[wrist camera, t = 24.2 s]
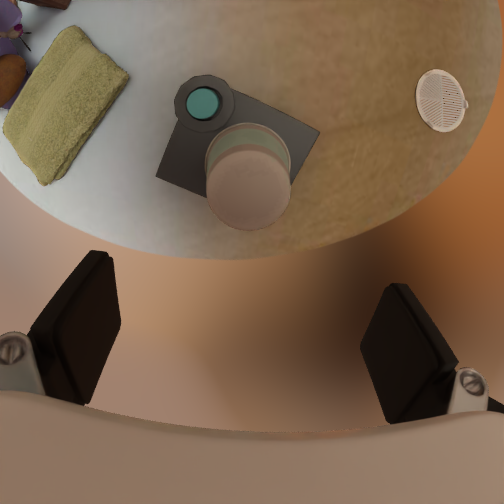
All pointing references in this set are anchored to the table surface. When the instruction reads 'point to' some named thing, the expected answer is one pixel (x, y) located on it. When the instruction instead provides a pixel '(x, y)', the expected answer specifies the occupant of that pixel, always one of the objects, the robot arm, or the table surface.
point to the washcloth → (62, 104)
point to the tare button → (202, 103)
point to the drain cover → (418, 98)
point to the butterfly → (6, 24)
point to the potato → (10, 76)
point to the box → (50, 3)
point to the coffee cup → (248, 176)
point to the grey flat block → (205, 130)
